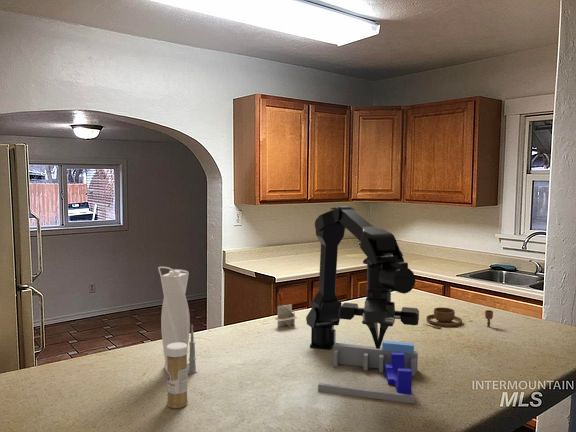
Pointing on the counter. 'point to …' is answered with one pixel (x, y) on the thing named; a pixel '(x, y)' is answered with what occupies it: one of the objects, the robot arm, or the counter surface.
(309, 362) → the counter surface
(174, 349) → the sprinkles bottle
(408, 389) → the cable clip
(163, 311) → the skyscraper
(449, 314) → the place setting
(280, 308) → the architectural model
